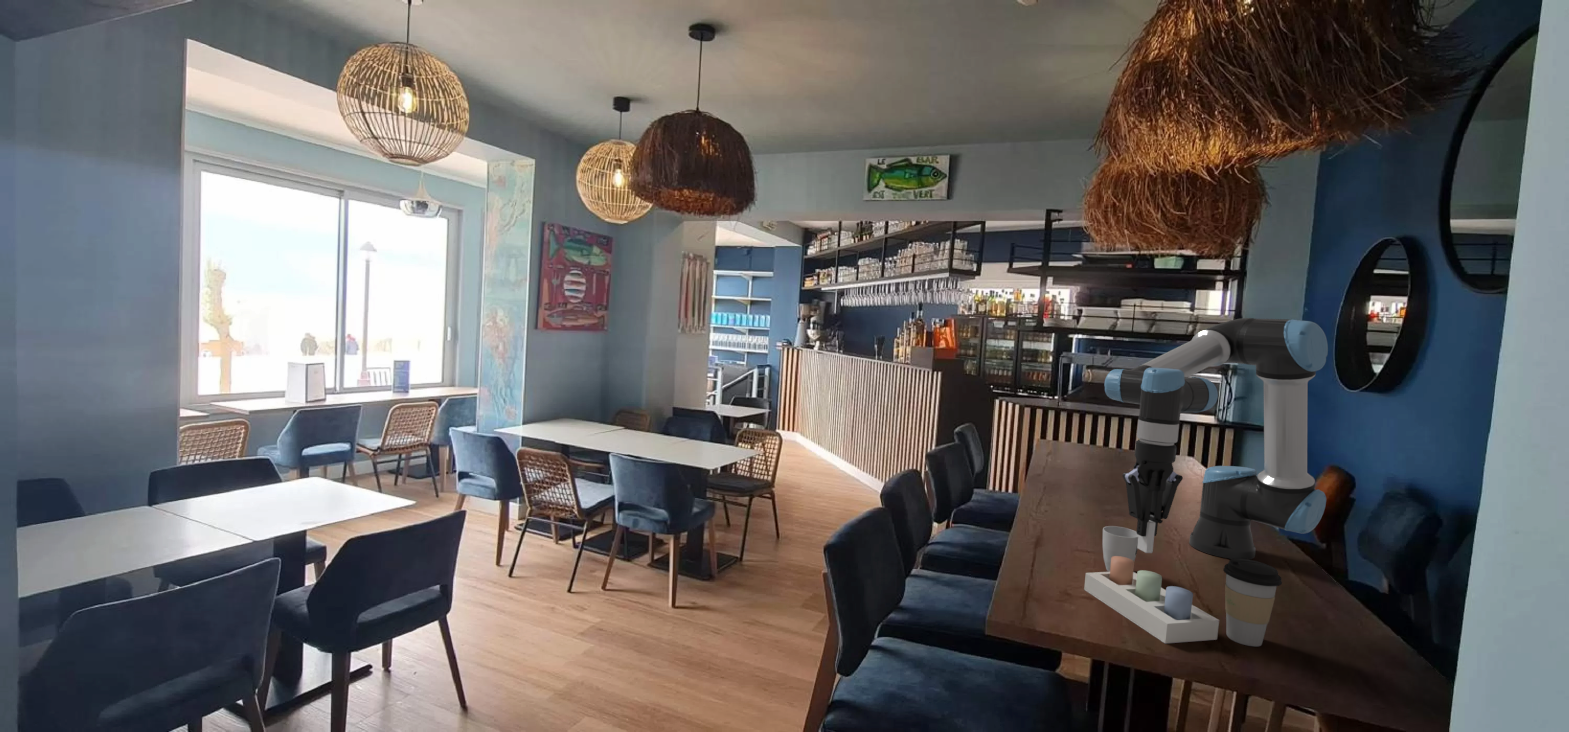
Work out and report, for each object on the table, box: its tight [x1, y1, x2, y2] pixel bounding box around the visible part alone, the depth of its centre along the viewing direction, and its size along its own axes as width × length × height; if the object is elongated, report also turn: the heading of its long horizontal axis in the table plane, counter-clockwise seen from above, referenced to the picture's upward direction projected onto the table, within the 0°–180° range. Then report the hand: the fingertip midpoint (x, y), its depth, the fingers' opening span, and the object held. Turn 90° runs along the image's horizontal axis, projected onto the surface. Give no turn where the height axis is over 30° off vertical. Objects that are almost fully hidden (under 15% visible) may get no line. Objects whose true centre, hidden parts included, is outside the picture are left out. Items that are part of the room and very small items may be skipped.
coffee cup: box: [1222, 559, 1283, 647], centre depth 130 cm, size 9×9×15 cm
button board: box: [1083, 571, 1220, 644], centre depth 140 cm, size 12×24×4 cm, turn 12°
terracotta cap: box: [1109, 556, 1135, 585], centre depth 148 cm, size 5×5×5 cm
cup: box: [1102, 525, 1139, 572], centre depth 163 cm, size 8×8×10 cm
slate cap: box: [1164, 585, 1194, 620], centre depth 132 cm, size 5×5×5 cm
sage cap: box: [1135, 569, 1163, 602], centre depth 140 cm, size 5×5×5 cm
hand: (1144, 550), depth 141 cm, fingers closed
